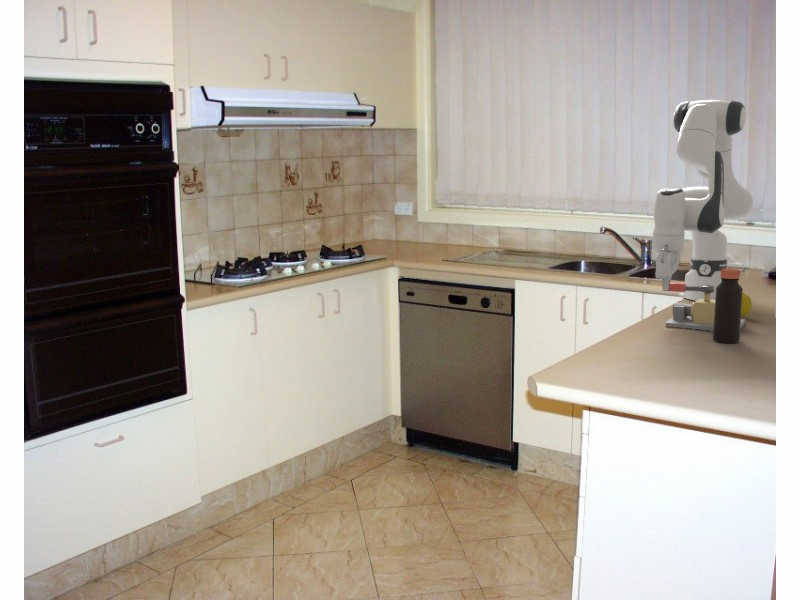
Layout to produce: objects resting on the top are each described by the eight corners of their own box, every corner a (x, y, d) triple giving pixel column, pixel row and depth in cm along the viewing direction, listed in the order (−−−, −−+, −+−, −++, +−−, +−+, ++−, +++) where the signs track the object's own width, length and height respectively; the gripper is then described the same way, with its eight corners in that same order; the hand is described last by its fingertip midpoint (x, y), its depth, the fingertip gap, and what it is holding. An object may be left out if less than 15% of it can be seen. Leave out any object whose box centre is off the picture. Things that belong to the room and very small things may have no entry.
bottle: (716, 343, 229) (720, 271, 225) (710, 337, 235) (714, 267, 232) (742, 344, 228) (746, 271, 224) (735, 338, 234) (740, 267, 231)
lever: (663, 289, 257) (664, 281, 256) (714, 291, 251) (714, 283, 251) (662, 291, 253) (663, 283, 253) (713, 293, 248) (714, 285, 248)
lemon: (753, 319, 259) (755, 294, 258) (735, 319, 259) (737, 294, 258) (746, 315, 265) (748, 290, 263) (728, 316, 265) (730, 291, 263)
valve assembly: (665, 326, 250) (667, 294, 249) (677, 316, 264) (679, 285, 262) (736, 333, 240) (738, 299, 239) (745, 323, 254) (747, 291, 252)
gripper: (674, 248, 236) (672, 296, 238) (683, 240, 254) (681, 285, 256) (651, 247, 238) (649, 294, 241) (662, 239, 256) (660, 284, 259)
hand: (666, 289), depth 249 cm, fingers closed
